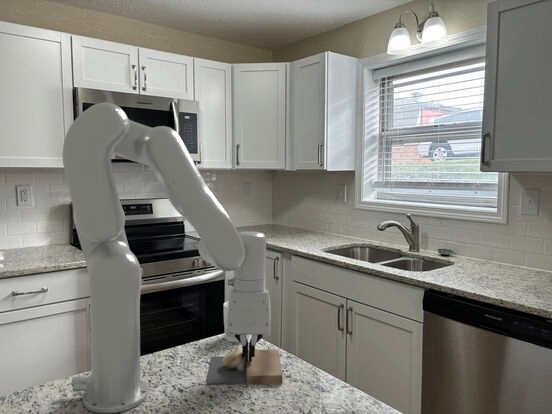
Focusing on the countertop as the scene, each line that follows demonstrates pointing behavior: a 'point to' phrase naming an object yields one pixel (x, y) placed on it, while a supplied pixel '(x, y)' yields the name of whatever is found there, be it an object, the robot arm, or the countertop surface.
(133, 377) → the robot arm
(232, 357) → the cream dome knob
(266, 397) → the countertop surface
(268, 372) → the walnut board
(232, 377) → the rubber mat
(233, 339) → the white cup
